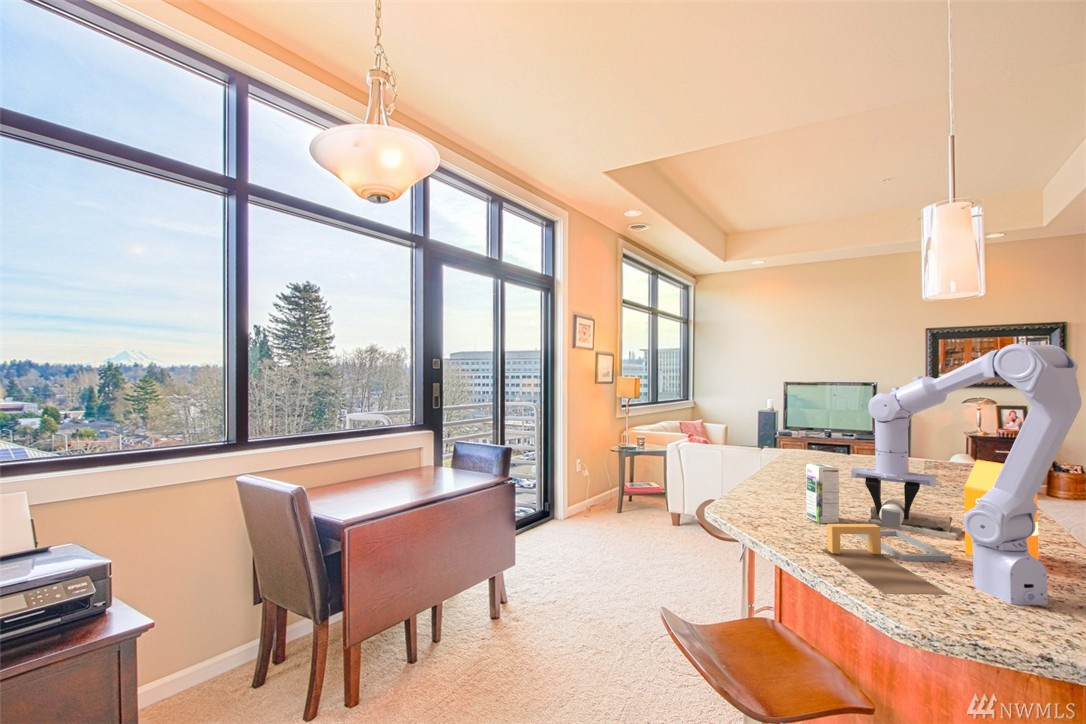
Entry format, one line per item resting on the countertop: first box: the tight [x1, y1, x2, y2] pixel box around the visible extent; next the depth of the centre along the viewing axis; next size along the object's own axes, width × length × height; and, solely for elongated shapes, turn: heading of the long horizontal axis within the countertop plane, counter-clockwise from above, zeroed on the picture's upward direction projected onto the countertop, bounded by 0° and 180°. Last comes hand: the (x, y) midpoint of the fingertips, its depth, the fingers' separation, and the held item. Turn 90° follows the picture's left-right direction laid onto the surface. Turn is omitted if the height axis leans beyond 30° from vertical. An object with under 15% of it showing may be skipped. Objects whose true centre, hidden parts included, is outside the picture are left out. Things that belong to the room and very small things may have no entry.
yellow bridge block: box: [826, 523, 882, 555], centre depth 106 cm, size 2×10×6 cm, turn 88°
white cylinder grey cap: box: [879, 496, 905, 528], centre depth 105 cm, size 11×4×4 cm, turn 142°
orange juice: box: [963, 459, 1040, 561], centre depth 106 cm, size 8×9×20 cm
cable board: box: [819, 548, 951, 596], centre depth 98 cm, size 22×11×1 cm, turn 178°
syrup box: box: [805, 462, 840, 524], centre depth 134 cm, size 6×6×14 cm
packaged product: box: [867, 503, 964, 541], centre depth 127 cm, size 18×5×10 cm
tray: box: [854, 529, 952, 562], centre depth 110 cm, size 17×10×2 cm, turn 178°
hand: (892, 516), depth 106 cm, fingers closed on white cylinder grey cap, 4 cm apart
